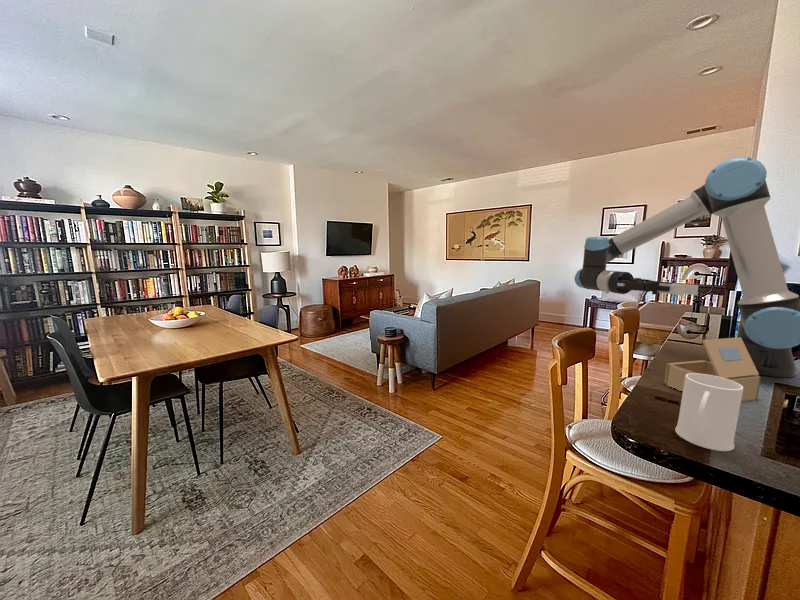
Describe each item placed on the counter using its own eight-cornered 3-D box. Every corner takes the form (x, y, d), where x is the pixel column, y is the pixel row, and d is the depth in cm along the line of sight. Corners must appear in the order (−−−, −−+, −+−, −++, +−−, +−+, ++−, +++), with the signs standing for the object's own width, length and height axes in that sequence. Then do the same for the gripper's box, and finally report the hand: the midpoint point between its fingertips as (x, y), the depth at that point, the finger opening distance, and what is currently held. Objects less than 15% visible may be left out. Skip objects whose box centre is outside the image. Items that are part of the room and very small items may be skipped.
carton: (701, 379, 94) (705, 359, 93) (758, 399, 82) (763, 376, 81) (660, 384, 90) (663, 363, 89) (714, 405, 78) (718, 381, 77)
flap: (756, 374, 81) (738, 337, 84) (759, 374, 80) (741, 337, 84) (718, 378, 78) (701, 340, 81) (721, 378, 77) (704, 339, 81)
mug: (720, 463, 56) (731, 398, 54) (661, 438, 63) (669, 380, 62) (740, 443, 62) (751, 384, 61) (684, 422, 70) (692, 369, 68)
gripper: (634, 292, 114) (710, 303, 92) (593, 293, 110) (664, 304, 88) (636, 271, 113) (715, 276, 91) (596, 271, 109) (668, 277, 87)
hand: (689, 290), depth 89 cm, fingers open, 4 cm apart
